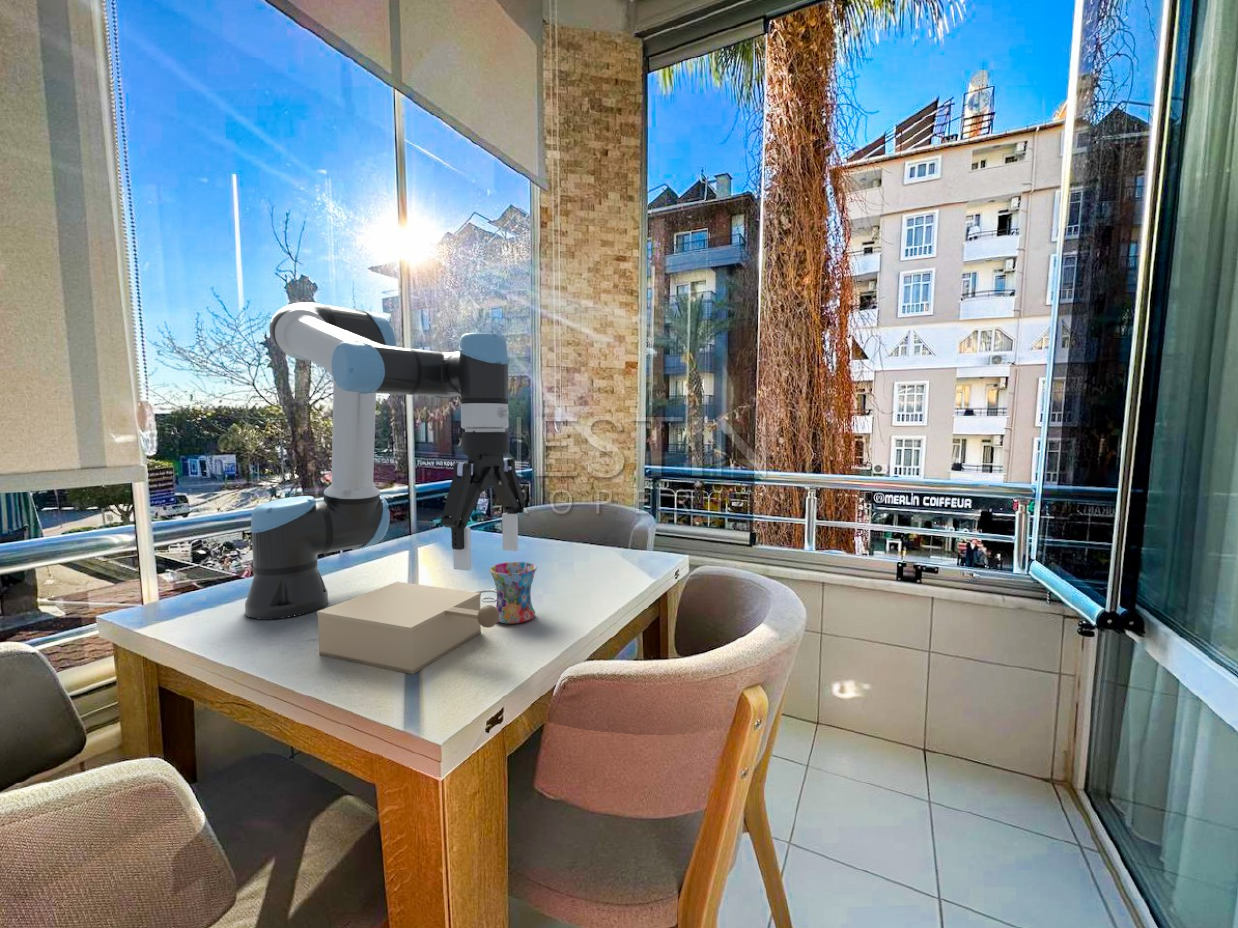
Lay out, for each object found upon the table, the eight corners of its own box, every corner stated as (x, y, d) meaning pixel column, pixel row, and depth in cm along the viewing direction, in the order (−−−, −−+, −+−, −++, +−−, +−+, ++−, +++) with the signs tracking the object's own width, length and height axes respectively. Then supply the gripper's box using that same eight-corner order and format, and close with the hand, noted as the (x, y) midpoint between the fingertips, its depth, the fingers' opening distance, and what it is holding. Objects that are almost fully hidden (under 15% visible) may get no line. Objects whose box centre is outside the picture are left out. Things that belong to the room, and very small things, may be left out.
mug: (520, 630, 102) (520, 575, 101) (481, 623, 105) (480, 570, 105) (552, 610, 113) (551, 561, 112) (515, 604, 116) (514, 556, 116)
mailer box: (319, 654, 91) (317, 614, 90) (397, 618, 107) (396, 585, 107) (413, 674, 84) (411, 631, 83) (480, 632, 100) (480, 596, 100)
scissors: (500, 601, 117) (416, 596, 120) (500, 604, 118) (416, 599, 120) (516, 587, 128) (438, 582, 131) (516, 590, 128) (438, 585, 131)
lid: (317, 623, 90) (316, 602, 90) (397, 591, 107) (396, 574, 107) (463, 650, 80) (462, 626, 79) (526, 610, 97) (526, 590, 97)
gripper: (455, 431, 73) (459, 581, 75) (542, 430, 97) (544, 544, 98) (412, 431, 76) (416, 576, 78) (507, 430, 99) (509, 541, 101)
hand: (488, 559), depth 88 cm, fingers open, 13 cm apart
